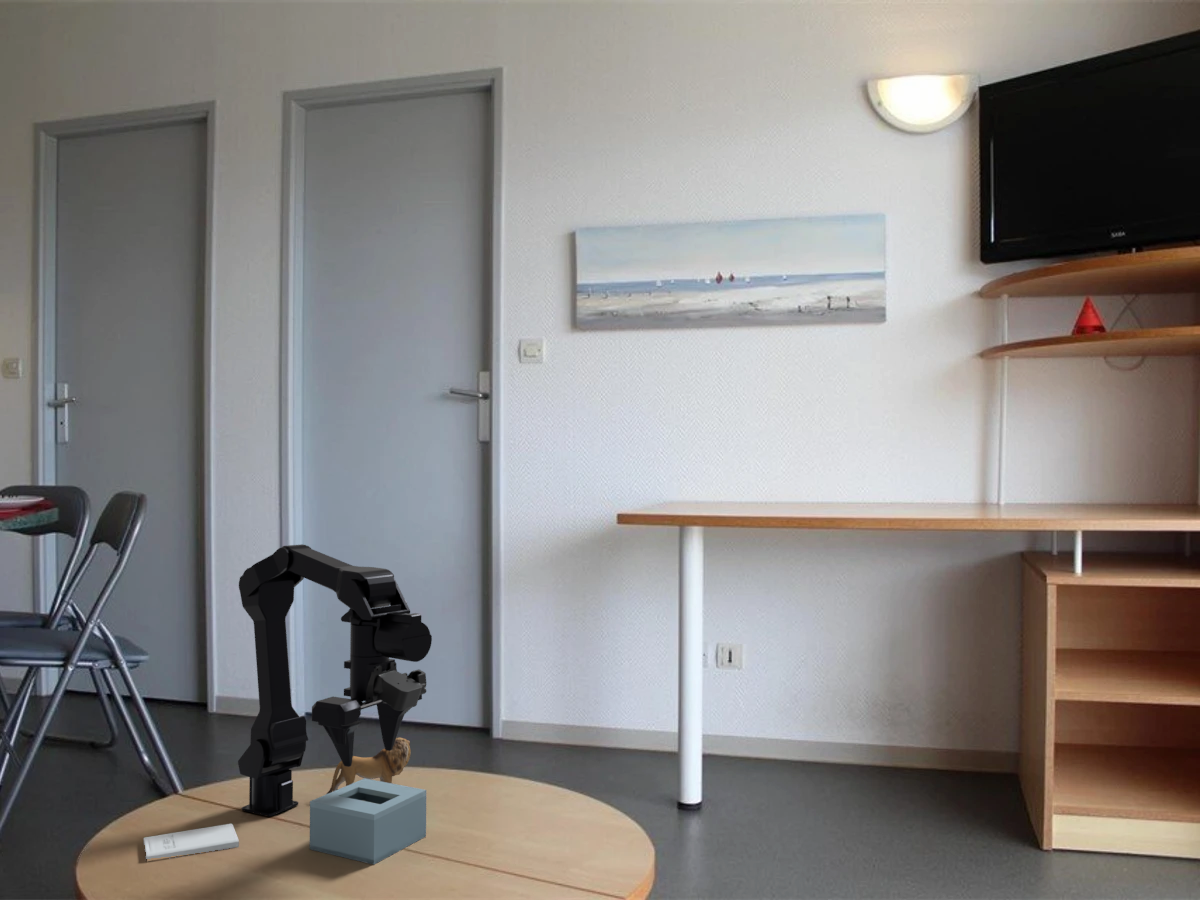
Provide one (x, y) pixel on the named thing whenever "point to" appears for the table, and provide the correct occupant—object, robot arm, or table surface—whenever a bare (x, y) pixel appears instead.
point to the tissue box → (367, 820)
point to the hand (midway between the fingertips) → (368, 758)
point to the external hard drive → (191, 841)
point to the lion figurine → (374, 765)
